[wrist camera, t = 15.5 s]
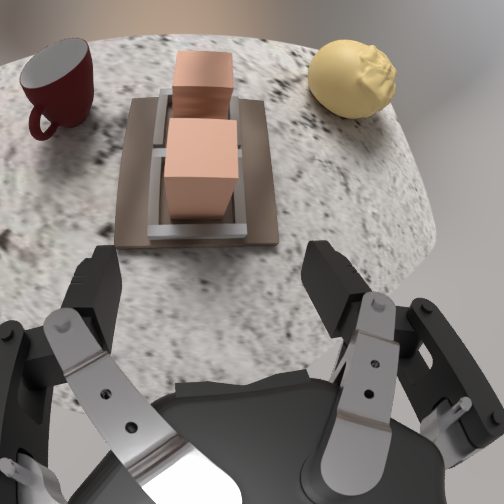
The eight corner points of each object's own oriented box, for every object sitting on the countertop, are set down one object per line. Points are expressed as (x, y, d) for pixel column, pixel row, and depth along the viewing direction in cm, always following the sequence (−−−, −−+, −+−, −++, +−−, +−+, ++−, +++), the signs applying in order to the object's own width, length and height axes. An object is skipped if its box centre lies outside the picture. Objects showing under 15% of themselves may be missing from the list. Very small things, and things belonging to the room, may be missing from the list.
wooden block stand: (116, 249, 26) (82, 215, 16) (133, 104, 29) (124, 42, 20) (275, 245, 30) (318, 212, 20) (261, 106, 33) (285, 48, 23)
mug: (84, 160, 27) (55, 106, 17) (31, 159, 25) (-5, 112, 16) (112, 92, 29) (101, 34, 20) (62, 93, 28) (42, 42, 18)
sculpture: (359, 145, 35) (405, 100, 25) (286, 94, 35) (315, 37, 24) (378, 105, 39) (416, 65, 28) (317, 62, 38) (345, 15, 28)
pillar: (170, 219, 26) (163, 176, 18) (172, 172, 27) (169, 117, 19) (222, 219, 28) (238, 178, 19) (221, 173, 29) (236, 120, 20)
